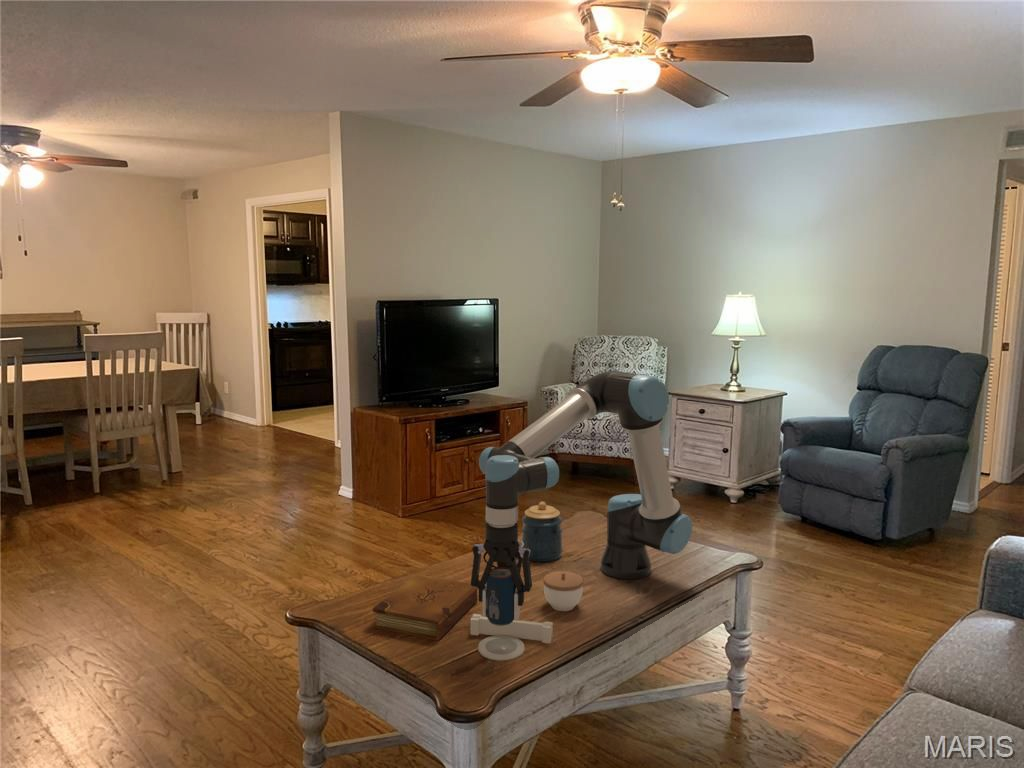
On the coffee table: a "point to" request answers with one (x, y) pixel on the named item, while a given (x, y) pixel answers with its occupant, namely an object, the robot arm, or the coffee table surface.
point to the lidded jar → (563, 589)
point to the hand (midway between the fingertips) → (501, 616)
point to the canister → (542, 533)
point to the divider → (513, 629)
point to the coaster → (501, 647)
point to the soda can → (500, 596)
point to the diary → (425, 606)
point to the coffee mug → (517, 556)
